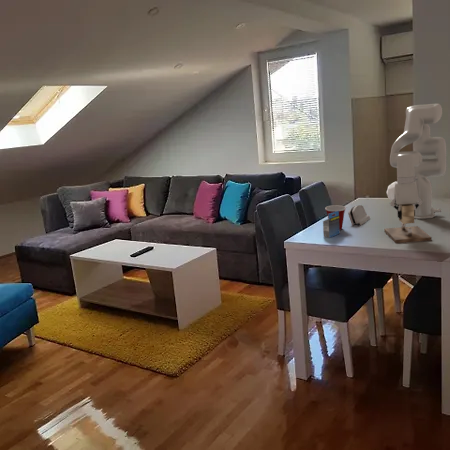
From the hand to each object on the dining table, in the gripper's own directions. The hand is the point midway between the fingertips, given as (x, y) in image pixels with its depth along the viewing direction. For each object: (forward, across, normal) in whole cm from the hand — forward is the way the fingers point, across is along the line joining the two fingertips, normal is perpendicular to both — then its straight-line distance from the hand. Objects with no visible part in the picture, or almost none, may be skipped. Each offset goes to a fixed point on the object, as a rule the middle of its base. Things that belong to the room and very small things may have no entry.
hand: (406, 217), depth 233 cm
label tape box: (+9, +34, -11) cm, 37 cm away
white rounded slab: (+9, +16, -37) cm, 41 cm away
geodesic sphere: (+9, -16, -82) cm, 84 cm away
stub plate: (+9, 0, 0) cm, 9 cm away
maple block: (+2, 0, 0) cm, 2 cm away
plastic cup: (+9, +30, -23) cm, 39 cm away
